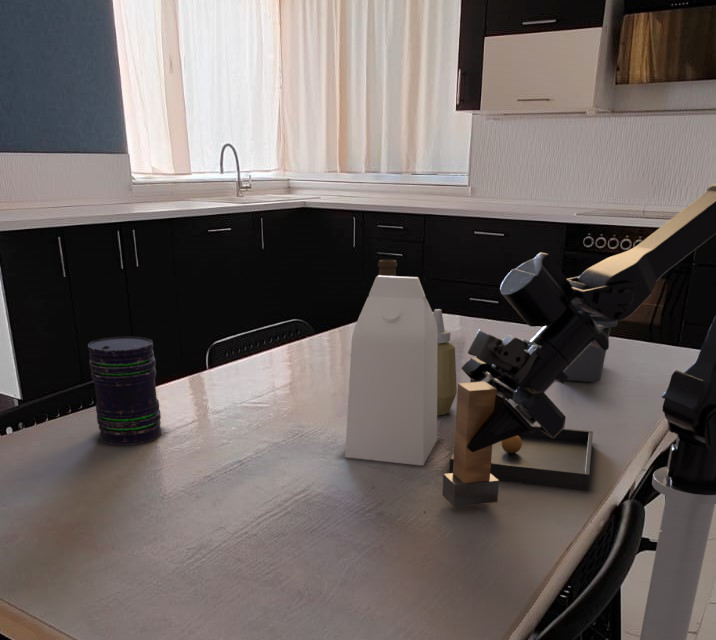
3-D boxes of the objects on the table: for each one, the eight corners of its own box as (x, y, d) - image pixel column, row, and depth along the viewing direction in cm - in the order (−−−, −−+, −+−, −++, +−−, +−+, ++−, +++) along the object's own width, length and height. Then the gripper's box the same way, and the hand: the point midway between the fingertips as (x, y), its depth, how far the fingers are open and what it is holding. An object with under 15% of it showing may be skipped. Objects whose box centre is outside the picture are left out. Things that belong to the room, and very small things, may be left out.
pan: (591, 444, 122) (592, 431, 121) (587, 490, 105) (589, 474, 104) (470, 432, 127) (471, 419, 126) (449, 473, 110) (449, 458, 109)
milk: (436, 440, 123) (445, 273, 113) (423, 465, 113) (431, 284, 103) (364, 433, 126) (367, 270, 116) (344, 457, 116) (345, 280, 106)
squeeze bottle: (419, 419, 133) (423, 315, 126) (404, 406, 140) (407, 306, 133) (462, 416, 135) (469, 313, 128) (445, 403, 142) (451, 304, 135)
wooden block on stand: (484, 490, 102) (492, 380, 96) (497, 502, 99) (507, 388, 93) (442, 495, 101) (448, 383, 95) (453, 507, 97) (460, 392, 91)
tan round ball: (521, 450, 118) (523, 432, 117) (519, 457, 115) (521, 438, 114) (502, 448, 119) (503, 430, 118) (499, 455, 116) (501, 436, 115)
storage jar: (132, 421, 131) (122, 334, 125) (175, 431, 126) (166, 341, 120) (86, 438, 123) (72, 345, 117) (130, 449, 119) (118, 353, 113)
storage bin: (612, 388, 153) (622, 315, 147) (533, 381, 157) (540, 310, 151) (612, 363, 171) (621, 298, 166) (541, 358, 175) (548, 294, 170)
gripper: (480, 294, 99) (397, 383, 101) (552, 321, 83) (451, 428, 84) (529, 351, 104) (450, 435, 106) (606, 387, 88) (510, 486, 89)
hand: (463, 444), depth 96 cm, fingers closed on wooden block on stand, 3 cm apart
